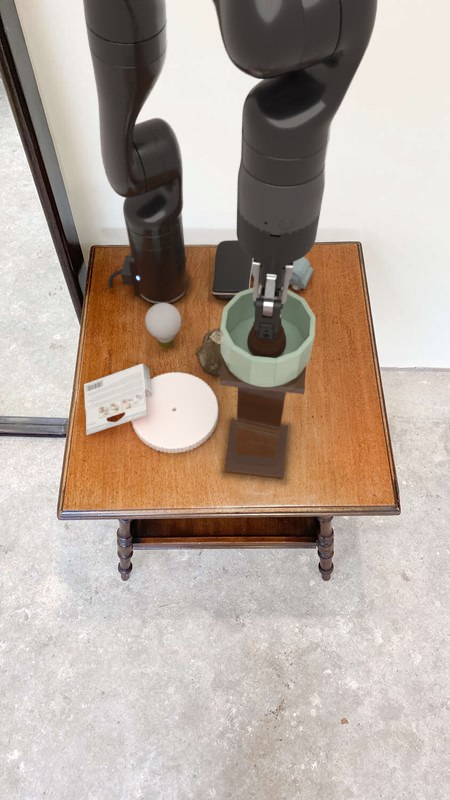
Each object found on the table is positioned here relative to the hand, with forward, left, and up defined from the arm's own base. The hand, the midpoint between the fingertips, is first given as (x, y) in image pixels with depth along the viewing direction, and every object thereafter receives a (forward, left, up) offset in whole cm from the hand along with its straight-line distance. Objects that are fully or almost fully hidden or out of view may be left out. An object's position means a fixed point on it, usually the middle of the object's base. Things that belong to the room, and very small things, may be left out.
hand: (268, 314), depth 72 cm
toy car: (+1, +35, -35) cm, 49 cm away
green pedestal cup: (0, 0, -35) cm, 35 cm away
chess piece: (0, 0, -6) cm, 6 cm away
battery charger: (-7, +28, -33) cm, 44 cm away
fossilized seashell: (-7, +17, -35) cm, 40 cm away
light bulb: (-17, +18, -35) cm, 43 cm away
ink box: (-24, +9, -32) cm, 41 cm away
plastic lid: (-14, +4, -35) cm, 38 cm away
